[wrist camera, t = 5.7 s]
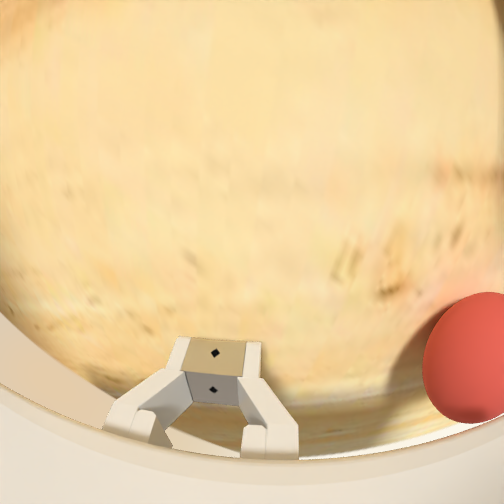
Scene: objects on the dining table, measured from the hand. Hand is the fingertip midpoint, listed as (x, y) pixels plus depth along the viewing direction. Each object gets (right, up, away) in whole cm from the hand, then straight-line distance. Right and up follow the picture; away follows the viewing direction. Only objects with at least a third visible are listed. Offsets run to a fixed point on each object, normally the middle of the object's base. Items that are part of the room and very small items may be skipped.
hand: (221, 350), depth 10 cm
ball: (+11, -1, -2) cm, 11 cm away
